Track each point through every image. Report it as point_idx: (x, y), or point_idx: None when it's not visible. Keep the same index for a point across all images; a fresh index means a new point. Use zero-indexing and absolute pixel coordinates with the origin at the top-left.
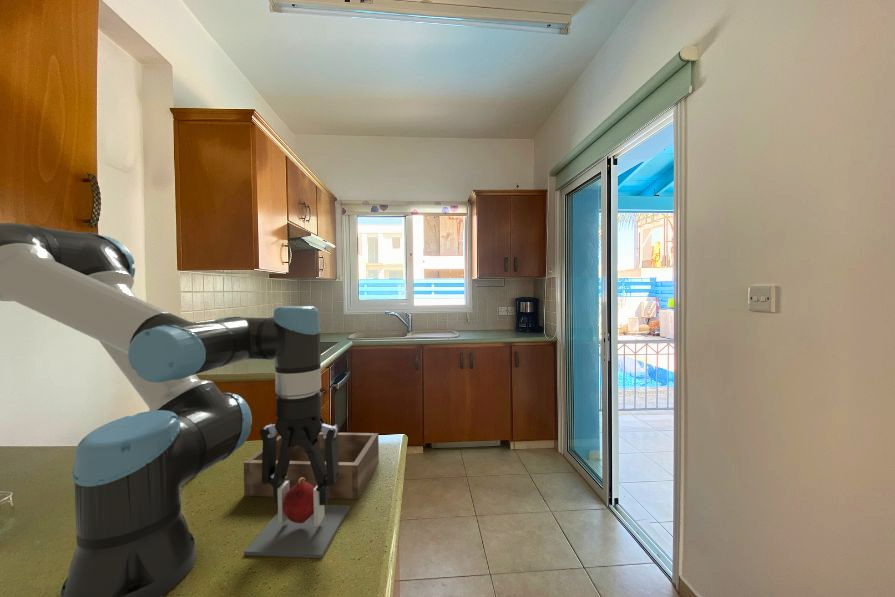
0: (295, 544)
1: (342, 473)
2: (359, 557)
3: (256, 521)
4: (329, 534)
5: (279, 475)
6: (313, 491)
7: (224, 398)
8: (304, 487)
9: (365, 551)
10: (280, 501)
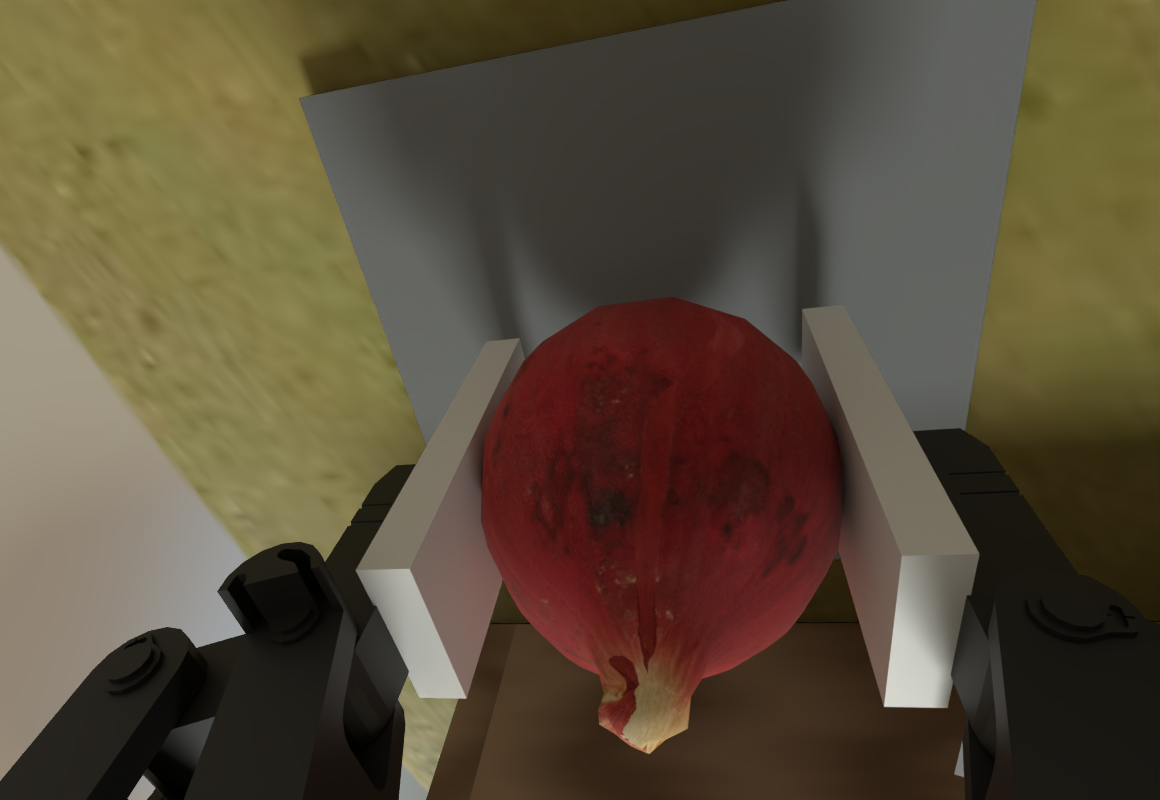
0: (581, 159)
1: (546, 791)
2: (93, 167)
3: (1113, 379)
4: (403, 312)
5: (1050, 791)
6: (417, 550)
7: None
8: (562, 600)
9: (106, 228)
10: (872, 432)
